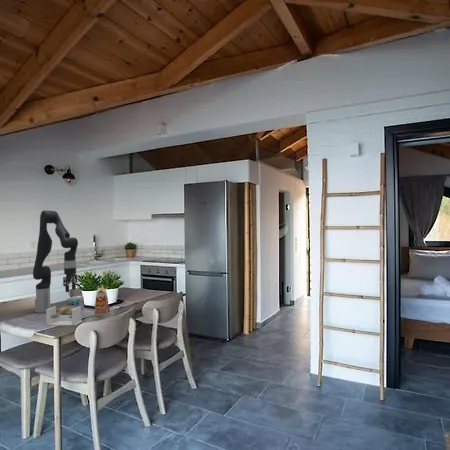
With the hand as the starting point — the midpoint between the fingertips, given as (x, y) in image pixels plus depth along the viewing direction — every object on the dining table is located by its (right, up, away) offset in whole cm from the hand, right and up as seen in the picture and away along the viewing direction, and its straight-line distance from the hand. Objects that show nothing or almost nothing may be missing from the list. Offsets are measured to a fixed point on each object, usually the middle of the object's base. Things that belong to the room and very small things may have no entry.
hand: (70, 290), depth 240 cm
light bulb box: (-4, -19, +18) cm, 26 cm away
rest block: (-1, -19, -1) cm, 19 cm away
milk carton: (+18, -19, +10) cm, 28 cm away
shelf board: (-1, -15, -2) cm, 15 cm away
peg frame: (+1, -19, -12) cm, 22 cm away
